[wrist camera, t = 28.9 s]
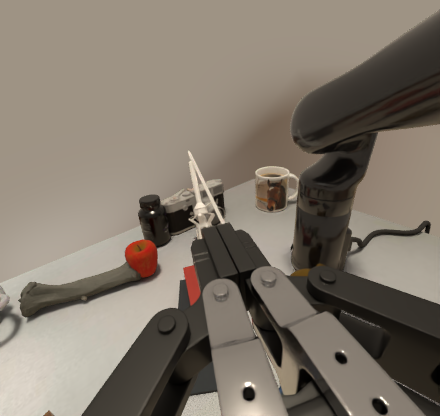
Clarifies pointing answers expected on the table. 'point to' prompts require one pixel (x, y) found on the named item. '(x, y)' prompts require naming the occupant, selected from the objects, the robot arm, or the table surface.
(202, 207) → the miniature sculpture
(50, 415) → the brown block
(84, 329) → the table surface
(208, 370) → the mat
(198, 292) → the red block
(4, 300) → the mug
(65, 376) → the table surface
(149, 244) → the apple
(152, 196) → the supplement bottle
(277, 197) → the mug
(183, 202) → the camera
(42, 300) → the bone
